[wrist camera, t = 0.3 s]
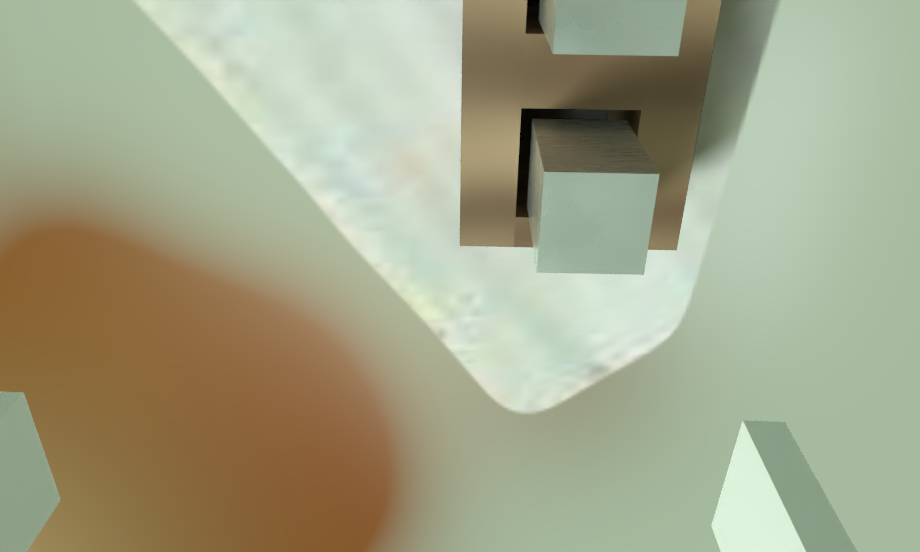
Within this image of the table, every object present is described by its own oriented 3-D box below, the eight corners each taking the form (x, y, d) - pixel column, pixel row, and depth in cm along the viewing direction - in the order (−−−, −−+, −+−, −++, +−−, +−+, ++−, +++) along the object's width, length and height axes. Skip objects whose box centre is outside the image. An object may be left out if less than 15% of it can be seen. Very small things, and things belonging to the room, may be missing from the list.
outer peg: (532, 118, 30) (544, 171, 25) (627, 120, 30) (659, 174, 25) (526, 205, 32) (536, 272, 27) (615, 207, 32) (643, 274, 27)
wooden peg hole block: (467, -153, 31) (465, -159, 25) (696, -150, 31) (749, -156, 25) (462, 188, 39) (459, 245, 33) (645, 191, 39) (676, 249, 33)
